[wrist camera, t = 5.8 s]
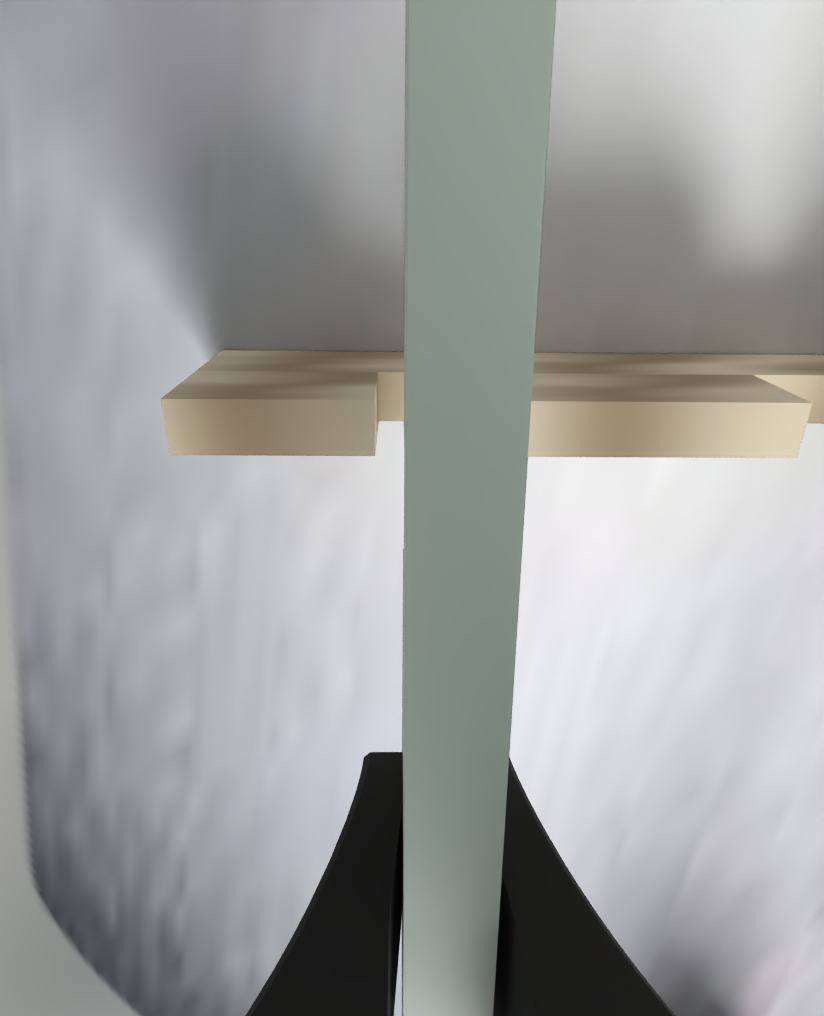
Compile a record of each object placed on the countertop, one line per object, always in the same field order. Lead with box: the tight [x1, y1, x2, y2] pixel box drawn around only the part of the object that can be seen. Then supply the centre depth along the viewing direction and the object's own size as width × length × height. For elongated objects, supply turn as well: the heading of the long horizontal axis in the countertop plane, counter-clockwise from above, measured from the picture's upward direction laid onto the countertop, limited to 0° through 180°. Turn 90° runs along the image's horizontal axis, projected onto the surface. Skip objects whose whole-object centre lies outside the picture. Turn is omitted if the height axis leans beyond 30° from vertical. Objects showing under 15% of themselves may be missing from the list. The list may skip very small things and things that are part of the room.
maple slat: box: [161, 350, 824, 458], centre depth 16 cm, size 20×1×5 cm, turn 89°
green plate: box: [402, 0, 556, 1016], centre depth 9 cm, size 16×1×5 cm, turn 179°
